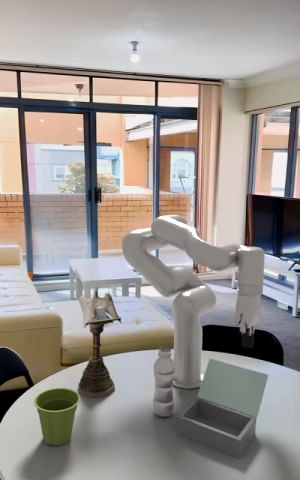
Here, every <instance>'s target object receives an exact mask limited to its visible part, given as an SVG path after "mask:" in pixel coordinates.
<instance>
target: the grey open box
mask: <svg viewBox="0 0 300 480" xmlns="http://www.w3.org/2000/svg"><path fill="white" fill-rule="evenodd" d="M198 417H200V418H203V419H206V420H208V421H212V422H214V423H217V424H219V425H222V426H224V427H228V428H230V429H233V430H235V431H238V432H240V433H239V434H238V436H236V435H233V434H231V433H228V432H225V431H223V430H220V429H217V428H215V427H212V426H209V425H207V424H204V423H201V422H198V421H196V419H197V418H198ZM256 425H257V418H256V417H253V416H250V415H247V414H244V413H241V412H238V411H235V410H232V409H230V408H227V407H224V406H221V405H218V404H215V403H212V402H209V401H206V400H203V399H200V398H198V397H196V398H195V399H194V400H193V401H191V403H190V404H189V405H188V406H186V408H184V410H182V411H181V412H180V413H179V414H178V415H177V417H176V434H177V435H180V436H182V437H185V438H188V439H190V440H192V441H194V442H197V443H200V444H201V445H205V446H207V447H209V448H212V449H215V450H216V451H219V452H222V453H224V454H226V455H229V456H231V457H234V458H236V459H240V458H241V457H242V455H243V454H244V452H245V451H246V449H247V448H248V446H249V445H250V443H251V442H252V440H253V439H254V437H255V436H256V429H257V426H256Z"/></svg>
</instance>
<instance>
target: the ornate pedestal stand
mask: <svg viewBox="0 0 300 480" xmlns="http://www.w3.org/2000/svg"><path fill="white" fill-rule="evenodd" d="M85 296H86V295H80V296H79V297H78V302H79V306H80V309H81V313H82V316H83V329H85V328H87V326H88V327H89V333H91V334H92V344H91V346H92V355H91V357H89V358H88V363H87V365H86V367H85V368H84V370H83V371H82V376H81V378H80V381H79V382H78V390H79V393H80V394H79V395H82V396H85V397H88V398H90V399H96V398H103V397H108V396H109V395H111V394H112V393H113V392H114V391H115V390H116V384H115V383H114V381H113V379H112V378H111V375H110V372H109V369H108V368H107V366H106V364H105V362H104V357H103V356H102V355H100V354H101V349H100V348H101V346H102V344H101V335H102V333H103V332H104V326H105V325H110V324H113V323H114V322H116V321H118V322H119V323H121V324H122V317H120V316H119V315H118V313H117V310H116V306H115V304H114V300H113V297H112V294H111V293H110V291H108V293H107V292H105V293H104V296H103V297H100V296H99V286H98V284H96V285H95V286H93V293H92V297H91V298H87V297H85Z"/></svg>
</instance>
